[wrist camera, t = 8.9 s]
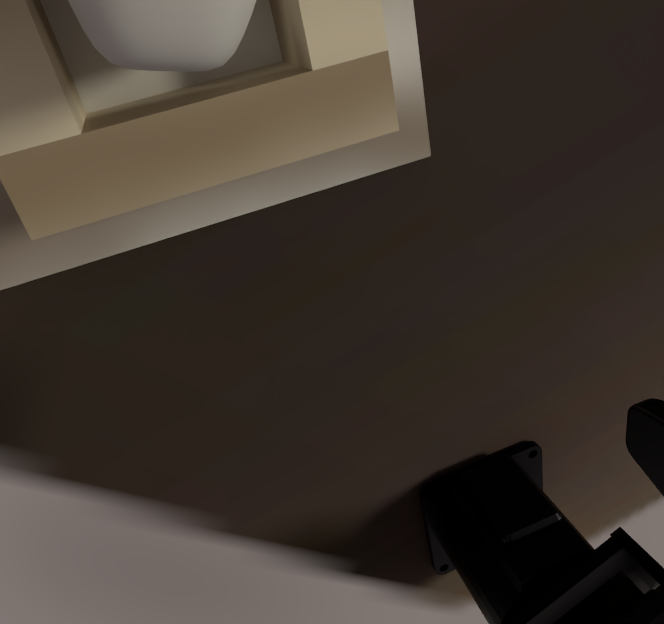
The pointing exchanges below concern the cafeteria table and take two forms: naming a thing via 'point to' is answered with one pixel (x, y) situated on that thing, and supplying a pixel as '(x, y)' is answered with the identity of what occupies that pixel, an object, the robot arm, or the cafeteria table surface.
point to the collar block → (193, 126)
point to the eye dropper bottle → (165, 31)
